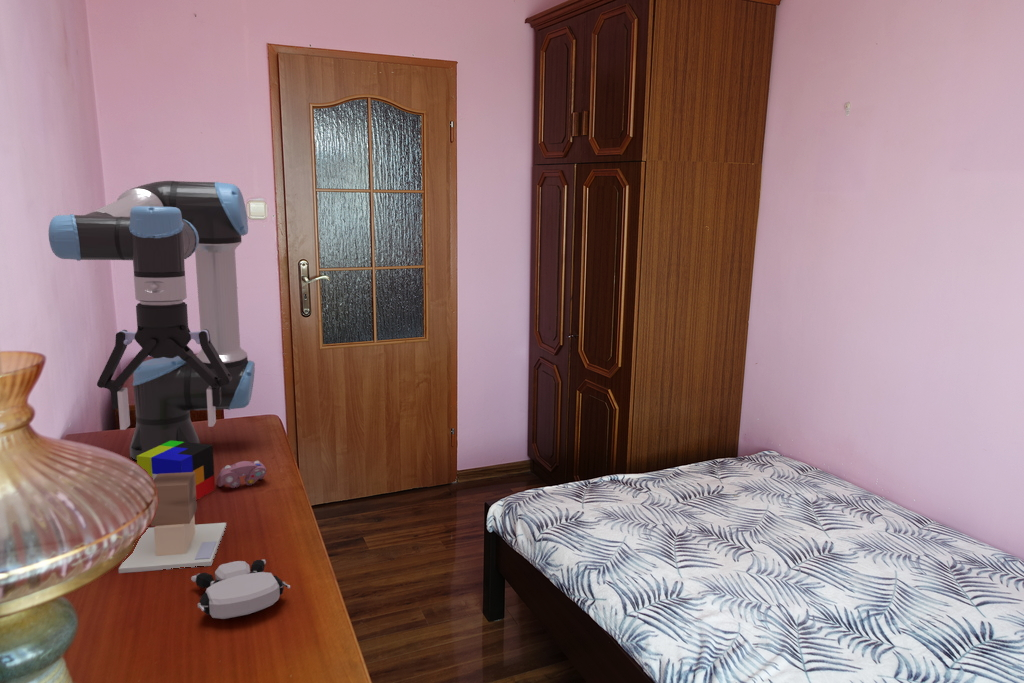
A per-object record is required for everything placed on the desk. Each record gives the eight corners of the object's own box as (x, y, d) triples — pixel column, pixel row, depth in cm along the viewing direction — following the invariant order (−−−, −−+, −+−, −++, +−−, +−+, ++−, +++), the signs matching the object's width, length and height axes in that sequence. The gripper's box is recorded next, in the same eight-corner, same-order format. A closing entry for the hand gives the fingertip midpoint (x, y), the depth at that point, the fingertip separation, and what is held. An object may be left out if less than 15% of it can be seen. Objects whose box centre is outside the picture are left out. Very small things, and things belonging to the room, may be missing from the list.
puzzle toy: (183, 508, 137) (181, 460, 135) (139, 503, 139) (136, 456, 137) (214, 489, 146) (212, 444, 145) (173, 484, 148) (170, 440, 147)
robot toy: (188, 594, 108) (204, 637, 96) (186, 566, 108) (202, 606, 95) (268, 574, 115) (293, 612, 102) (266, 548, 114) (291, 583, 102)
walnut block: (160, 511, 122) (158, 473, 121) (196, 509, 123) (194, 471, 122) (151, 526, 116) (148, 486, 115) (189, 523, 117) (187, 484, 116)
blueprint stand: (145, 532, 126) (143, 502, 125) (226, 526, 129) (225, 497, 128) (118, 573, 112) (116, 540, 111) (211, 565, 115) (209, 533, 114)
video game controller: (218, 497, 146) (220, 474, 142) (214, 482, 149) (216, 459, 145) (266, 489, 151) (269, 466, 148) (261, 474, 154) (264, 451, 151)
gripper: (67, 304, 106) (79, 435, 110) (238, 304, 112) (244, 429, 116) (85, 298, 114) (95, 421, 118) (245, 299, 119) (250, 416, 123)
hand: (169, 426), depth 117 cm, fingers open, 13 cm apart
